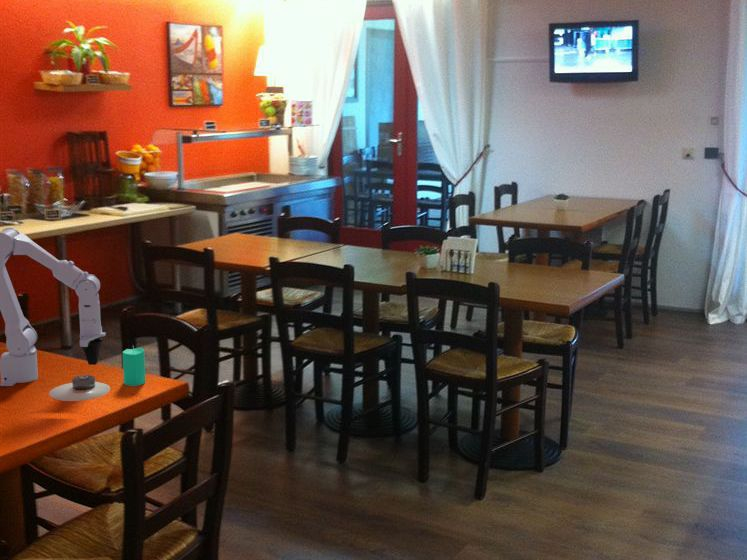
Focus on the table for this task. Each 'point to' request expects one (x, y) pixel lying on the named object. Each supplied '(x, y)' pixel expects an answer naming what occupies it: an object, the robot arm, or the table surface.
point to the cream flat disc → (78, 392)
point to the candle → (134, 366)
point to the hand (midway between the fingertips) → (92, 364)
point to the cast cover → (83, 382)
